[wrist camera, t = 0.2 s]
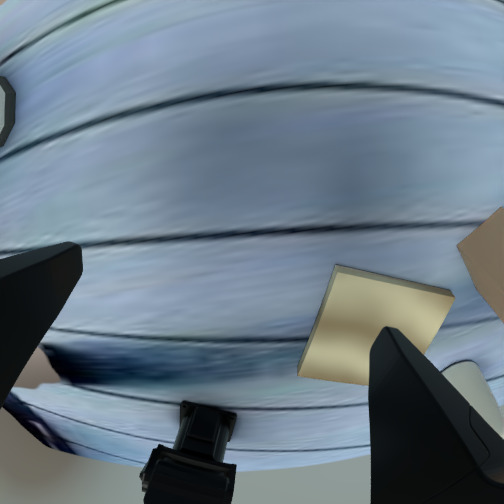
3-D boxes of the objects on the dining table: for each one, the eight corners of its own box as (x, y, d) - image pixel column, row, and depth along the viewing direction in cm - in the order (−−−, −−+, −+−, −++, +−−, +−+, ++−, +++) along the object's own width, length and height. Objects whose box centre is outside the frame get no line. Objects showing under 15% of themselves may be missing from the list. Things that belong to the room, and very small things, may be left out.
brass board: (398, 379, 27) (401, 388, 26) (297, 366, 27) (297, 375, 26) (450, 290, 23) (455, 297, 21) (335, 264, 23) (337, 272, 22)
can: (486, 358, 25) (527, 439, 14) (460, 397, 28) (488, 475, 17) (444, 358, 26) (483, 452, 15) (418, 399, 28) (443, 487, 17)
